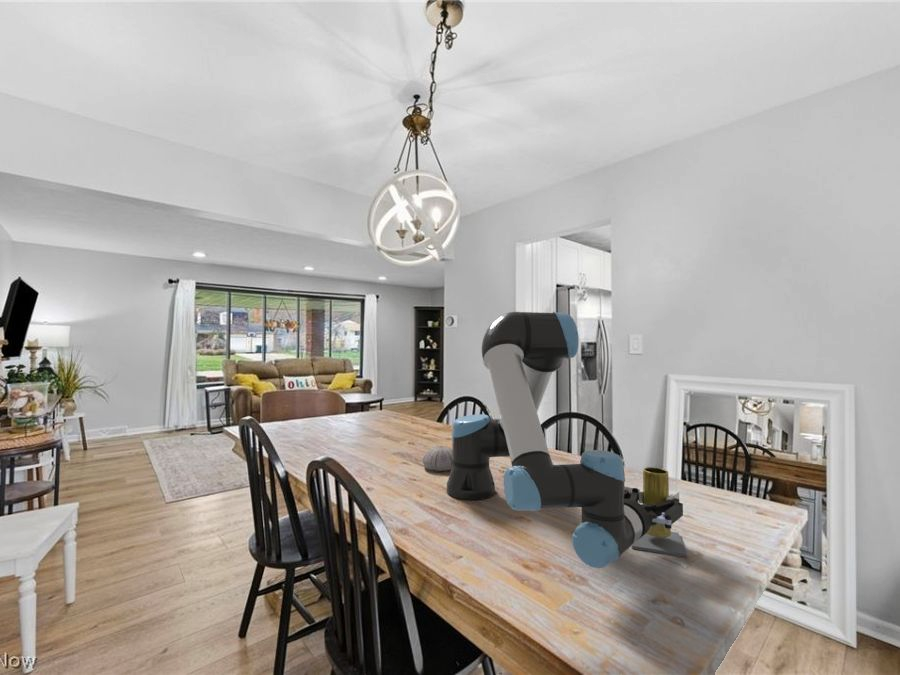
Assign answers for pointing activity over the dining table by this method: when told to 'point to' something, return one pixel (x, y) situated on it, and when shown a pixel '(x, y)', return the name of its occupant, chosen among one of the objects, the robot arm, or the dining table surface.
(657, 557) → the dining table surface
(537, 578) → the dining table surface
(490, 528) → the dining table surface
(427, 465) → the sea urchin shell
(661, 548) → the slate mat
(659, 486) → the vase
